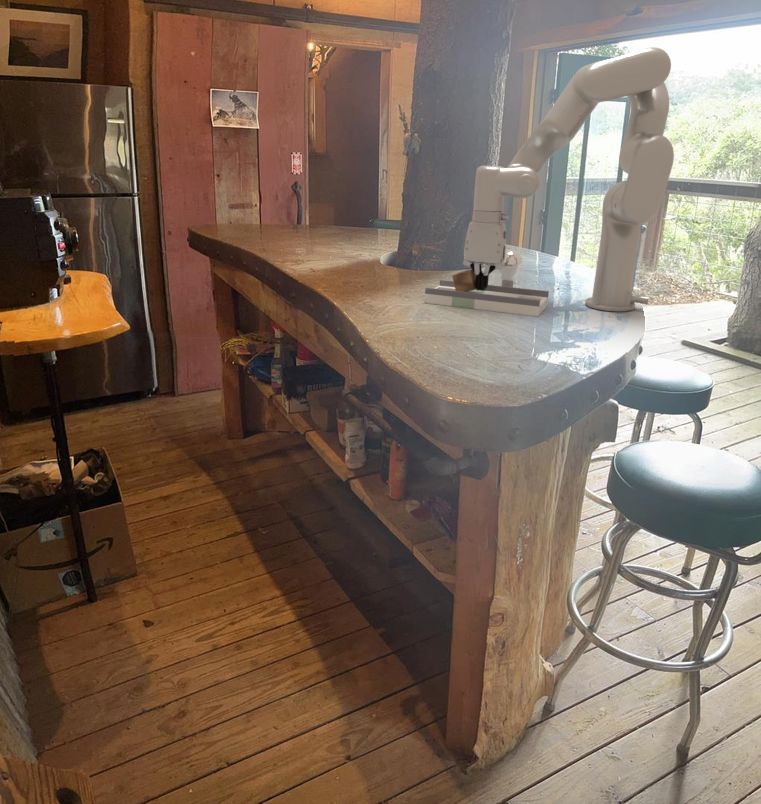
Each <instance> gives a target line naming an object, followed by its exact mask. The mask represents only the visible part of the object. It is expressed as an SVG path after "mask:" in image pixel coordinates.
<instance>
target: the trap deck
mask: <svg viewBox="0 0 761 804" xmlns="http://www.w3.org/2000/svg"><path fill="white" fill-rule="evenodd" d="M549 293H550V291H548V290H539V289H529V288H520V287H514V286H513V287H503V286H501V285H493V284H488V287H486V289H485V290H483V291H481V290H477V288H476V289H475V290H471V291H467V292H461V291H456V290H455V286H454V282H453V280H443V279H440V280H439V285H438V286H436V287H433V288H432V287H425V291H424V303H425V304H430V305H440V306H448V307H457V308H465V309H472V310H474V309H475V310H479V311H480V310H481V311H490V312H497V313H498V312H499V313H506V314H515V315H523V316H528V317H529V316H530V317H539V316H540V315H541V314H542V312H544V311H545V309H546V308H547V307H548V302H549V295H550V294H549Z"/></svg>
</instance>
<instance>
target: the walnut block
mask: <svg viewBox="0 0 761 804" xmlns="http://www.w3.org/2000/svg"><path fill="white" fill-rule="evenodd" d="M451 276H452V281H453V282H454V286H455V290H456V291H461V292H467V291H471V290H475V289H476V288H477V286H475V283H476V274H475V272H474V271H473V270H472V268H471V269H466V270H462V271H459V272H456V273H454V274H452V275H451Z"/></svg>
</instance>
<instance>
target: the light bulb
mask: <svg viewBox="0 0 761 804" xmlns="http://www.w3.org/2000/svg"><path fill="white" fill-rule="evenodd" d="M522 263H523V258H522V256H521V254H520V253H519V251H517V250H516V249H512V248H508V249H507V248H506V254H505V260H504V268H502V269H498V270H499V273H500V278H501V285H500V286H503V287H513V288H514V281H515V278H516V275H517V273H518V272H519V271H520V269H521V267H522Z"/></svg>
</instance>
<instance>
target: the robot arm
mask: <svg viewBox="0 0 761 804" xmlns="http://www.w3.org/2000/svg"><path fill="white" fill-rule="evenodd" d="M671 62H672V61H671V58H670V56H669V54H668V52H666V51H665V50H664V49H662V48H660V47H648V48H644V49H641V50H638V51H635V52H631V53H627V54H623V55H619V56H617V57H611V58H609V59H608V58H607V59H604V60H598V61H594V62H593V63H589V64H586V65H584V66H582V67H581V68H579V69H578V70H577V71H576V73H575V74H573V76H572V77H571V79H570V81H568V83H567V85H566V86H565V87H564V89H563V90H562V92H561V93H560V95H559V96H558V98H557V99H556V101H555V103H554V104H553V105H552V106H551V108H550V109H549V110H548V112H547V113H546V115H545V116H544V118H543V120H541V122H540V123H539V124H538V125H537V126H536V127H535V129H534V131H533V132H532V133H531V134H530V136H529V137H528V138H527V140H526V141H525V142H524V143H523V144H522V146H521V147H520V148H519V150H518V151H517V153H516V154H515V156H514V157H513V158H512V160H511V161H510V163H509V164H508V165H507V167H504V166H500V165H481V166H479V167H477V169H476V171H475V182H474V183H475V184H474V192H473V193H474V195H473V196H474V197H473V209H472V221H469V224H468V227H467V232H466V237H465V242H464V249H463V262H462V265H464V266H466V267H469V268H471V269H472V270H473V271H474V272H475V274H476V283H475V286H477V290H481V291H483V290H485V289H486V287H488V285H489V279H490V278H489V277H490V274H491V273H492V272H493V271H496V270H497V271H498V270H499V269H502V268H504V260H505V254H506V250H507V228H506V227H507V226H506V223H503V222H504V221H508V220H509V214H506V213H505V211H504V207H505V205H504V204H505V197H508V198H509V197H510V198H516V199H528V198H530V197H532V196H534V195H535V194H536V193H537V191H538V190H539V187H540V185H541V184H540V183H541V181H540V180H541V179H540V176H539V174H538V173H539V172H540V170H541V169H542V168H543V167H544V166H545V164H546V163H547V162H548V160H550V158H552V157H553V156H554V155H555V154H556V153H558V152H559V151H560V150H562V149H563V148H566V147H567V145H569V143H570V142H571V141H573V139H574V138H575V137H576V135H577V134H578V133H579V131H580V130H581V127H583V125H584V124H585V122H587V120H588V119H589V117H590V116H591V114H592V113H593V111H594V110H595V108H596V107H597V106H598V104H599V103H604V102H608V101H612V100H617V99H621V98H625V97H628V98H629V99H628V100H629V103H630V113H629V117H628V123H627V126H626V131H625V135H624V138H623V141H622V145H621V148H620V152H619V157H618V163H619V167H620V169H621V170H622V171H623V172H625V173H626V174H627V178H626V180H622V181H618V182H616V183H615V184H613V185H612V186H610V188H608V190H607V191H606V193H605V195H604V197H603V201H602V210H601V211H602V217H601V218H602V219H601V220H602V223H601V233H600V241H599V249H598V255H597V260H596V269H595V273H594V274H595V276H594V282H593V289H592V296H590V297H588V298H586V299H585V302H584V304H585V305H586V307H589V308H591V309H595V310H599V311H606V312H607V311H608V312H629V311H630V312H631V311H633V310H634V309H636V304H643V305H648V303H649V299H650V298H649V296H645V295H642V294H635V293H634V289H633V282H634V277H635V271H636V265H637V260H638V259H637V258H638V253H639V248H640V241H641V231H642V230H641V229H642V228H641V226H642V225H644V224H647V223H648V222H650V221H651V220H653V218H654V217H655V216H656V215H657V213H658V212H659V210H660V207H661V205H662V203H663V198H664V196H665V193H666V188H667V186H668V182H669V179H670V175H671V172H672V168H673V165H674V158H675V157H674V156H675V153H674V148H673V144H672V142H671V141H670V139H668V137H667V136H664V134H665V133H664V132H665V129H666V126H667V125H666V124H667V120H668V116H669V111H670V96H669V91H668V89H667V85H666V83H665V81H666V80H667V78H668V77H669V75H670V73H671V68H672V63H671ZM482 264H485V265H484V270H483V269H482V268H483V265H482Z"/></svg>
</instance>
